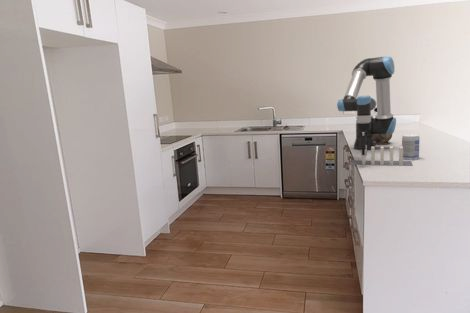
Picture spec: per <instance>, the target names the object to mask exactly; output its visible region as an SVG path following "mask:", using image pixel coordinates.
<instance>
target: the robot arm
mask: <svg viewBox="0 0 470 313" xmlns="http://www.w3.org/2000/svg"><path fill="white" fill-rule="evenodd" d="M394 63H395V62H394V59H393V58H392V57H391V56H379V57H369V58H364V59H362V60H361V61H360V62H358V63H357V64H356V66H355V67H354V68H353V69H352V72H351V78H350V81H349V84H348V86H347V89H346V92H345V94H344V96H343V98H341V99H338V100H337V104H336V106H337V107H336V108H337V110H338V111H339V112H356V117H355V119H356V121H355V134H356V135H355V141H354V143H353V149H354V150H360V160H367V156H368V151H369V150H370V151H371V147H372V146H375V147H376V143H375V141H374V139H373V134H385V135H387V134H392V135H393V134H394V132H395V129H396V124H397V118H396V117H394V114H392V112H391V109H392V108H391V89H390V87H391V86H390V85H391V84H390V83H391V82H390V79H391V78H392V77H393V75H394V74H395V64H394ZM367 77H372V80H374V81H375V93H376V99H374V98H373V97H371V96H370V95H359V93H360V89H361V86H362V84H363V82H364V80H365V79H367ZM358 95H359V96H358ZM375 108H377V112H376V113H377V114H376V115H375V117H374V116H373V115H372V114H371V113H372V112H371V111H374V109H375Z"/></svg>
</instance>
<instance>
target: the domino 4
mask: <svg viewBox="0 0 470 313" xmlns="http://www.w3.org/2000/svg"><path fill="white" fill-rule="evenodd" d="M398 148H399V149H398V161H399V165H403V161H404V159H403V146H402V145H401V146H398Z"/></svg>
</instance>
